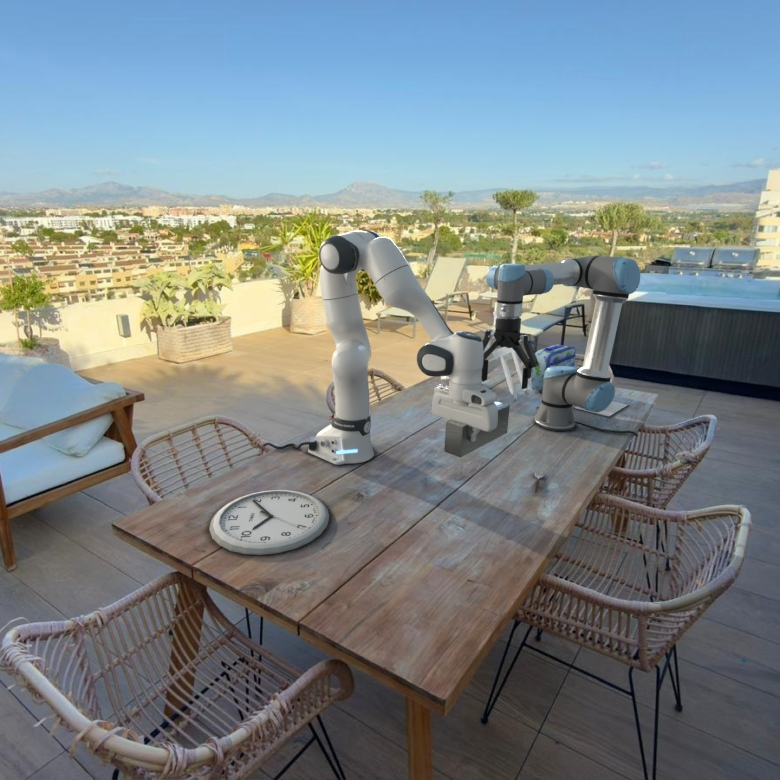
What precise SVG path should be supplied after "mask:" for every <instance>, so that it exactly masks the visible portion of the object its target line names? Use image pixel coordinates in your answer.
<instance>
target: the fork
mask: <svg viewBox="0 0 780 780" xmlns="http://www.w3.org/2000/svg"><path fill="white" fill-rule="evenodd" d="M540 467H541V468H540ZM538 468H540V469H538ZM544 476H545V468H543V466H540V465H539V466H538V467H536V469H535V471H534V477H535V478H537V479H536V481H535V485H534V493H535V494H536V493H537V492H538V489H539V487H540V479H542V478H544Z"/></svg>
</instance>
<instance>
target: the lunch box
mask: <svg viewBox="0 0 780 780" xmlns="http://www.w3.org/2000/svg"><path fill="white" fill-rule="evenodd" d="M535 355H536V358H537V361H538V363H539V365H538V366H536V367H534V368H532V373H531V382H530V383H531V386H530V387H531V389H532V390H533V391H537V392H542V391H543V380H544V379H543V378H544V375H545V370H546V369H547V368H549V367H555V366H570V367H575V364H576V357H577V355H576V347H575V346H569V345H565V344H554V345H550V346H547V347H544V348H542V349H541V348H540V349H539V350H537V351H536V352H535Z"/></svg>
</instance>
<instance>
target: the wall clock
mask: <svg viewBox="0 0 780 780" xmlns="http://www.w3.org/2000/svg"><path fill="white" fill-rule="evenodd" d="M329 521H330V514H329V509H328V507H327V506H326V505H325V504H324V503H323V502H322V501H321V500H320V499H318V498H317V497H315V496H313V495H310V494H308V493H304V492H301V491H295V490H291V489H290V490H288V489H272V490H270V489H269V490H262V491H258V492H252V493H249V494H246V495H244V496H240V497H238V498H235V499H234V500H231V501H230V502H229V503H226V504H225V505H224V506H223V507H222V508H221V509H219V510H218V511H216V513H215V514H214V516H213V517H212V518H211V521H210V524H209V533H210V536H211V539H212V540H213V541H214V542H215V543H216V544H217V545H218V546H219V547H222V548H224V549H226V550H228V551H230V552H234V553H237V554H243V555H254V556H266V555H274V554H275V555H276V554H281V553H285V552H289V551H292V550H296V549H298V548H301V547H304V546H305V545H307V544H309V543H311V542H313V541H314V540H316V539H317V538H318V537H319V536H321V535H322V534H323V532H324V531H325V530H326V529H327V527H328V525H329Z"/></svg>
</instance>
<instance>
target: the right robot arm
mask: <svg viewBox="0 0 780 780" xmlns="http://www.w3.org/2000/svg"><path fill="white" fill-rule="evenodd" d="M485 280H486V284H487V286H488V287H489V288H490V289H494V290H497V295H496V296H497V297H496V308H495V309H496V310H495V311H496V315H497V316H498V317H497V318H496V321H495V323H494V324H495V326H494V328H495V330H494V331H493V329H488V330H487V329H486V330H485V332H484V337H483V339H482V341H483V350H485V348H486V346H487V344H489V343H490V341H491V339H492V338H493V337H494V339H495V341H494V342H493V343H492V345H490V348H489V349H488V350H487V351H486V352H485V353H484V357H483V368H482V377H481V378H482V382H485V381H487V380H488V375H489V374H488V360H485V359H487V357H488V356H489V355H490V354H491V353H492V352H493V351H494V350H497V348H498V347H500V348H503V347H507V348H513V350H514V351H515V352H516V353H517V355H518V359H519V360H520V361H521V362H522V364H523V366H524V367H522V371H523V377H522V386H521V390H523V389H525V388H527V387H529V386H528V384H529V379H532V368H534V367H536V366H538V365H539V363H538V361H537V358H536V355H535V354H536V352H535V350H534V348H533V344H532V341H531V334H521V330H522V329H521V328H522V318H521V317H522V316H523V303H524V296H534V295H535V296H536V295H538V296H540V295H542V294H547V293H549V292H550V291H552V290H553V287H554V286H556V285H557V286H558V285H563V286H564V287H578V288H582V289H583V288H584V289H589V290H592V296H593V298H594V299H595V304H594V309H593V314H592V319H591V323H590V329H589V334H588V336H587V337H588V338H587V341H586V342H587V343H586V347H585V351H584V352H585V353H584V358H583V363H582V366H581V367H580V368H577V367H575V366H574V367H570V366H555V367H549V368H547V369H546V370H545V375H544V378H543V379H544V380H543V391H541V402H540V405H538V406H536V413H535V416H534V424H535V425H536V426H537V427H539V428H542V429H544V430H549V431H556V432H567V431H572V430H574V429H575V428H576V425H579V426H582V427H586V428H588V429H592V430H596V431H599V432H605V433H612V434H613V433H614V434H632V435H634V436H635V437H639V435H638V434H637V432H635V431H632V430H613V429H612V430H611V429H605V428H600V427H597V426H592V425H590V424H586V423H583V422H581V421H577V420H576V418H575V417H576V416H575V413H574V407H576V406H577V407H580V408H583V409H585V410H587V411H586V412H588V411H593V412H601V411H603V410H605V409H606V408H607V407H608V406H609V405H610V403H611V402H612V401H614V398H615V394H616V388H615V384H613V383H612V382H611V379H612V375H611V373H610V372H609V368H610V367H609V366H610V361H611V357H612V353H613V348H614V343H615V340H616V334H617V330H618V326H619V320H620V316H621V312H622V311H621V310H622V306H623V304H624V303H625V302H626V301H628V300H629V297H630V295H631V294H634V293H635V292H636V291H637V289H638V288H639V286H640V283H641V270H640V267H639V264H638V262H637V261H636V260H634V259H633V258H631V257H624V256H608V255H605V256H604V255H587V256H586V255H585V256H582V257H581V256H580V257H573V258H566V259H564V260H562V261H561V262H547V263H536V264H535V263H534V264H523V263H522V264H521V263H503V264H501V265H493V266H491V267H490V268H489V269H488V270H487V272H486V276H485ZM520 341H521V342H522V343H523V346H524V349H525V351H524V349H523V348H522V345H521V343H520ZM573 406H574V407H573Z"/></svg>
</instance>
